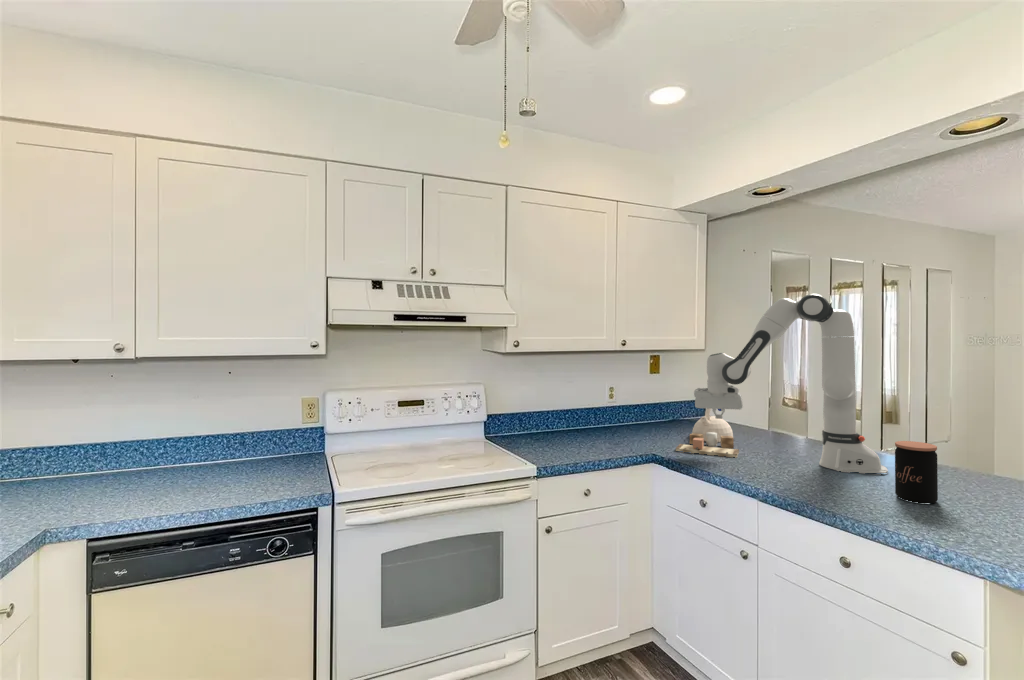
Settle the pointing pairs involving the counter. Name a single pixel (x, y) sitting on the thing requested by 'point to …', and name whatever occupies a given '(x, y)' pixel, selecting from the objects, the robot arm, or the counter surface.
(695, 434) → the walnut block
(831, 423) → the robot arm
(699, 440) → the counter marker
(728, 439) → the walnut block
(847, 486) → the counter surface
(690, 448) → the counter board
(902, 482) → the coffee jar
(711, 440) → the grey cylinder
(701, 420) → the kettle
